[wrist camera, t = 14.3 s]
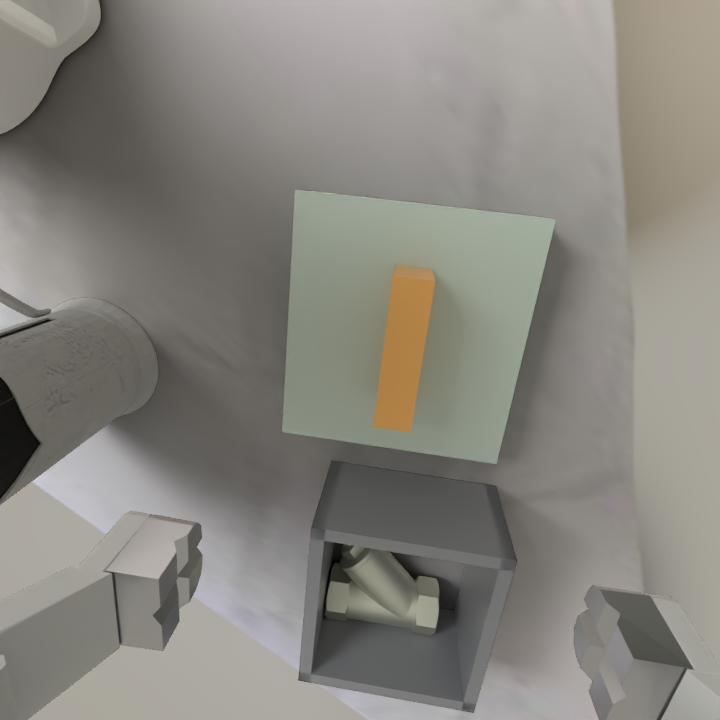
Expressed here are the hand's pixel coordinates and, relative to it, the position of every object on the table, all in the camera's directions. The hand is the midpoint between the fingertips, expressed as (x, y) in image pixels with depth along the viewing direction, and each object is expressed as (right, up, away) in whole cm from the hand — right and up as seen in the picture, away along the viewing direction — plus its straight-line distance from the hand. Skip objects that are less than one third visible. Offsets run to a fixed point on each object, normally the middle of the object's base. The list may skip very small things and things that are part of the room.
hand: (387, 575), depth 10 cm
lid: (+2, +7, +19) cm, 21 cm away
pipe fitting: (+1, -11, +26) cm, 29 cm away
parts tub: (+3, -9, +25) cm, 27 cm away
